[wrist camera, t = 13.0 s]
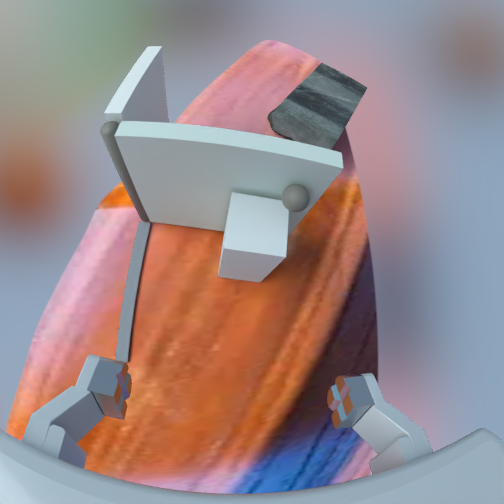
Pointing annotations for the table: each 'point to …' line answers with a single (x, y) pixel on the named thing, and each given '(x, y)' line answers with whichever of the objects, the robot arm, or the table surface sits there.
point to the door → (214, 171)
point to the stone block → (318, 108)
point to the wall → (146, 110)
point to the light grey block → (253, 237)
